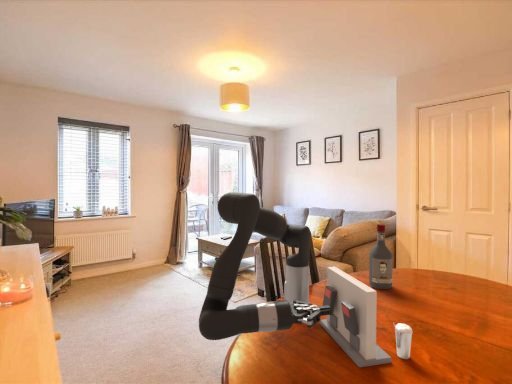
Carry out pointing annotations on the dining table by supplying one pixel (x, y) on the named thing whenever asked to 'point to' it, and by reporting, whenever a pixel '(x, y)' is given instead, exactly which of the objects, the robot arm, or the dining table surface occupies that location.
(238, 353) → the dining table surface
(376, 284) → the liquor
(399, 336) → the milkshake
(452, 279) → the dining table surface
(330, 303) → the rocker outlet
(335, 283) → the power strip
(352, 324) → the rocker outlet
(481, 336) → the dining table surface
